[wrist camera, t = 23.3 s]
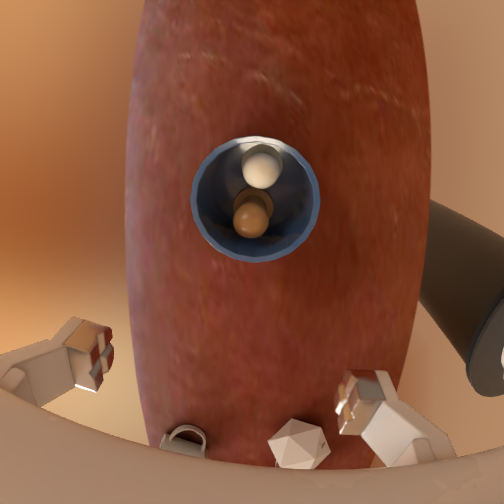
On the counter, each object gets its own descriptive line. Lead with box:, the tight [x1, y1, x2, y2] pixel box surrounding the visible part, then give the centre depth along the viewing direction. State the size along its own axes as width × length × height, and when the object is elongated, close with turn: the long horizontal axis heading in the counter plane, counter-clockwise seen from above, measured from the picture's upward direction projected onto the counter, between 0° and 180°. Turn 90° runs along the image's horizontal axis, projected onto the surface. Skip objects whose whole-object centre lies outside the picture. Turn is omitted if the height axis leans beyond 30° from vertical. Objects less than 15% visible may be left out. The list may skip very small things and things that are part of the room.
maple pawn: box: [233, 186, 273, 238], centre depth 30 cm, size 4×4×8 cm
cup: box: [190, 135, 321, 263], centre depth 29 cm, size 10×10×9 cm
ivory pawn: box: [241, 144, 283, 189], centre depth 28 cm, size 4×4×8 cm
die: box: [268, 419, 331, 469], centre depth 42 cm, size 8×9×10 cm
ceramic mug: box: [159, 425, 208, 459], centre depth 45 cm, size 11×8×8 cm
